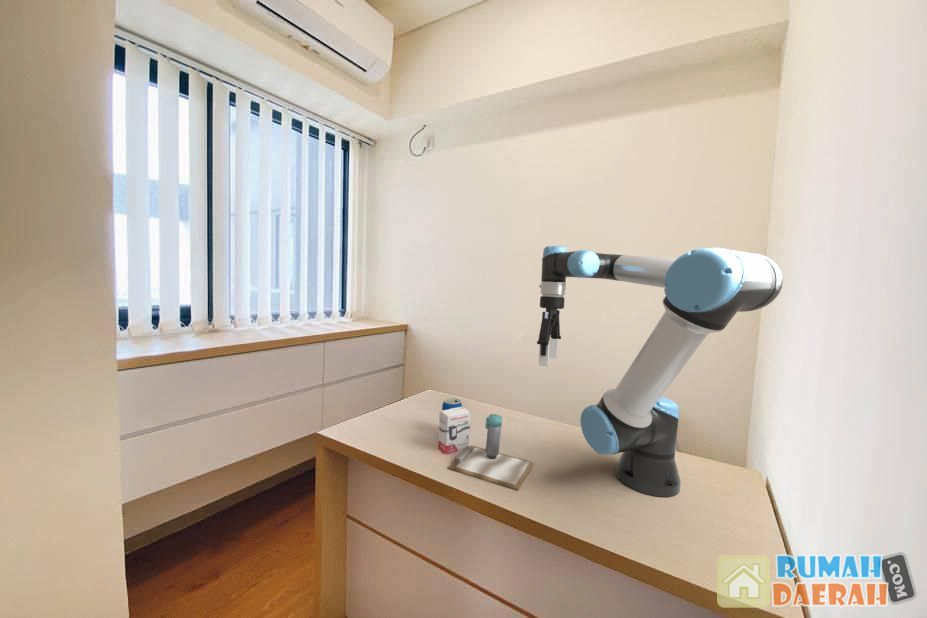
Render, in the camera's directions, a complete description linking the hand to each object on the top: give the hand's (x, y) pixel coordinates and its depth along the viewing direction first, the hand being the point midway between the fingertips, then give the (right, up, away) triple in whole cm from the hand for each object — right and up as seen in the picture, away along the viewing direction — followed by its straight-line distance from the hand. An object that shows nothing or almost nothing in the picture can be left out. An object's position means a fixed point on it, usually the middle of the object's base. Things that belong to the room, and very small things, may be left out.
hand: (548, 361), depth 113 cm
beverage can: (-32, -25, +4) cm, 41 cm away
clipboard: (-19, -27, -15) cm, 36 cm away
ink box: (-30, -26, -5) cm, 40 cm away
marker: (-19, -26, -11) cm, 34 cm away
